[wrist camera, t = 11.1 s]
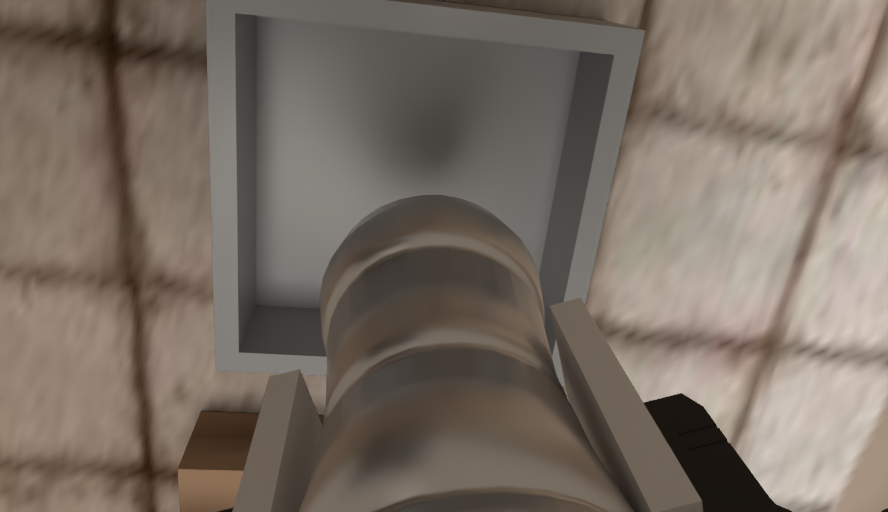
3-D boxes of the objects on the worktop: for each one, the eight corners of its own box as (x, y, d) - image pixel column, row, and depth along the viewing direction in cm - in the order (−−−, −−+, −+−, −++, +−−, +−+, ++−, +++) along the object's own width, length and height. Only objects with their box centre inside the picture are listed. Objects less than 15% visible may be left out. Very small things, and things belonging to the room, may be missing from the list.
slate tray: (234, -24, 27) (204, -22, 23) (604, 20, 29) (645, 30, 25) (237, 315, 34) (215, 370, 29) (543, 332, 36) (566, 386, 31)
